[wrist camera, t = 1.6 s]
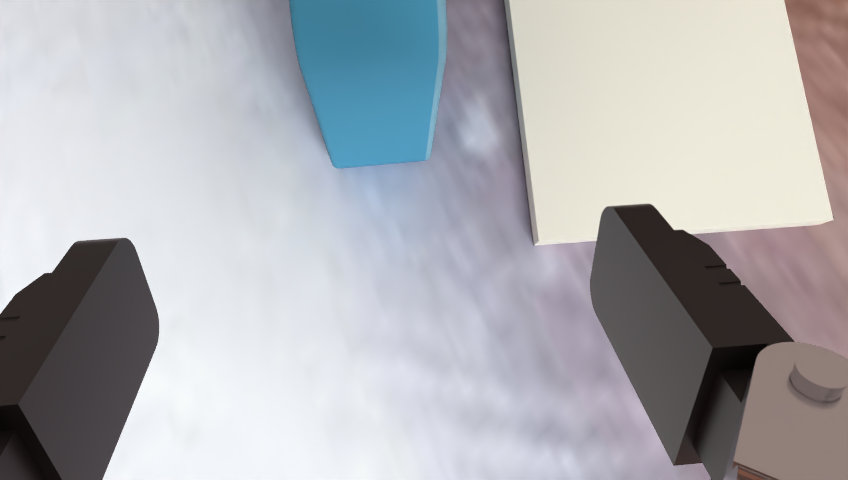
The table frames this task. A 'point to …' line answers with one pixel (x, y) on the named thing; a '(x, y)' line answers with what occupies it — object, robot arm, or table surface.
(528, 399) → the table surface
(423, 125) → the data package
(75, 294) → the robot arm
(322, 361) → the table surface
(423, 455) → the table surface
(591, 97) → the cream mat
